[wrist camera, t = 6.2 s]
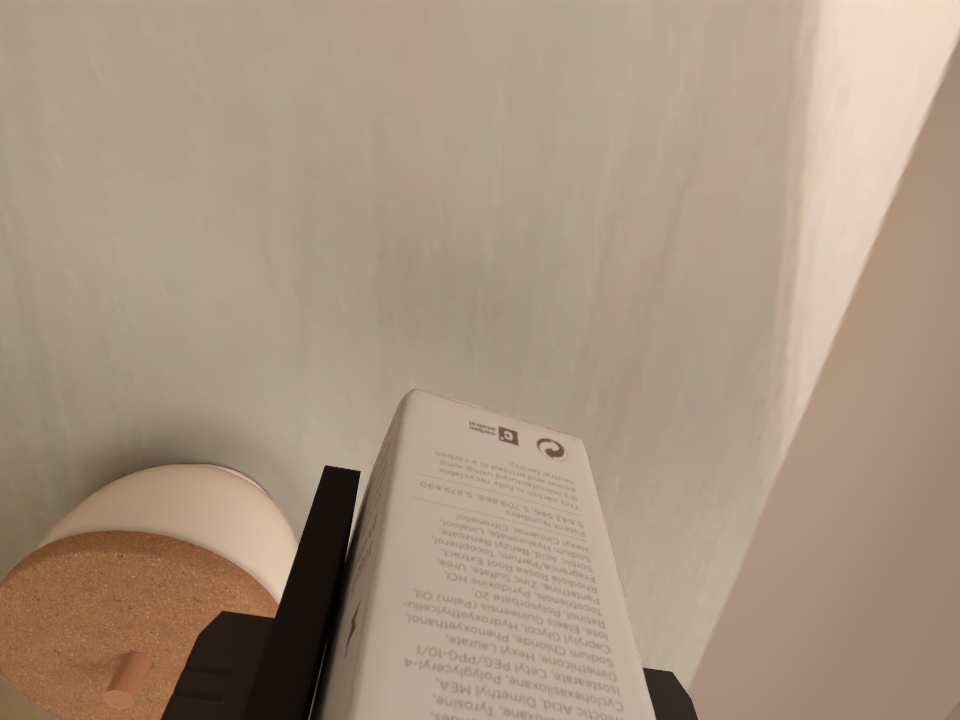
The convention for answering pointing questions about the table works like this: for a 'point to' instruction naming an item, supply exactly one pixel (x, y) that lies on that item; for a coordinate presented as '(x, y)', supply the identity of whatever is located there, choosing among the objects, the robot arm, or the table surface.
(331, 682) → the cosmetic box
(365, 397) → the table surface
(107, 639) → the trinket box
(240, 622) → the robot arm
